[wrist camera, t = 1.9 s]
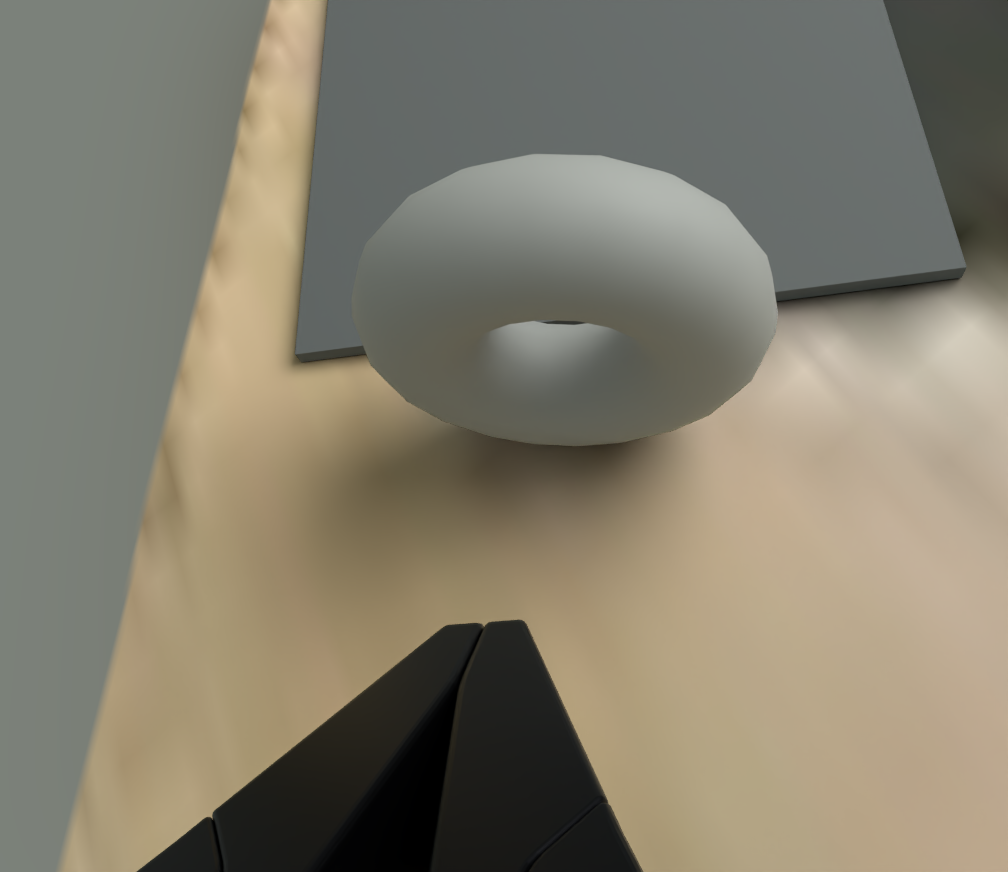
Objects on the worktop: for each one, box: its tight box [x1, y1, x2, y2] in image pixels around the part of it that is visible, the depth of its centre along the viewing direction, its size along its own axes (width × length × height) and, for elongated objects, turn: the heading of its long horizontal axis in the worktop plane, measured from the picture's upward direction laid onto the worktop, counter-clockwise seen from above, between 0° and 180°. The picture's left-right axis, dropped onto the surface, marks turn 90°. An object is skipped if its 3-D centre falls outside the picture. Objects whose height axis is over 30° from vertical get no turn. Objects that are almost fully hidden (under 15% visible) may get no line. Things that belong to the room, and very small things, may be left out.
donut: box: [351, 154, 778, 446], centre depth 21 cm, size 10×4×10 cm, turn 86°
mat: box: [295, 0, 966, 362], centre depth 30 cm, size 20×20×1 cm
